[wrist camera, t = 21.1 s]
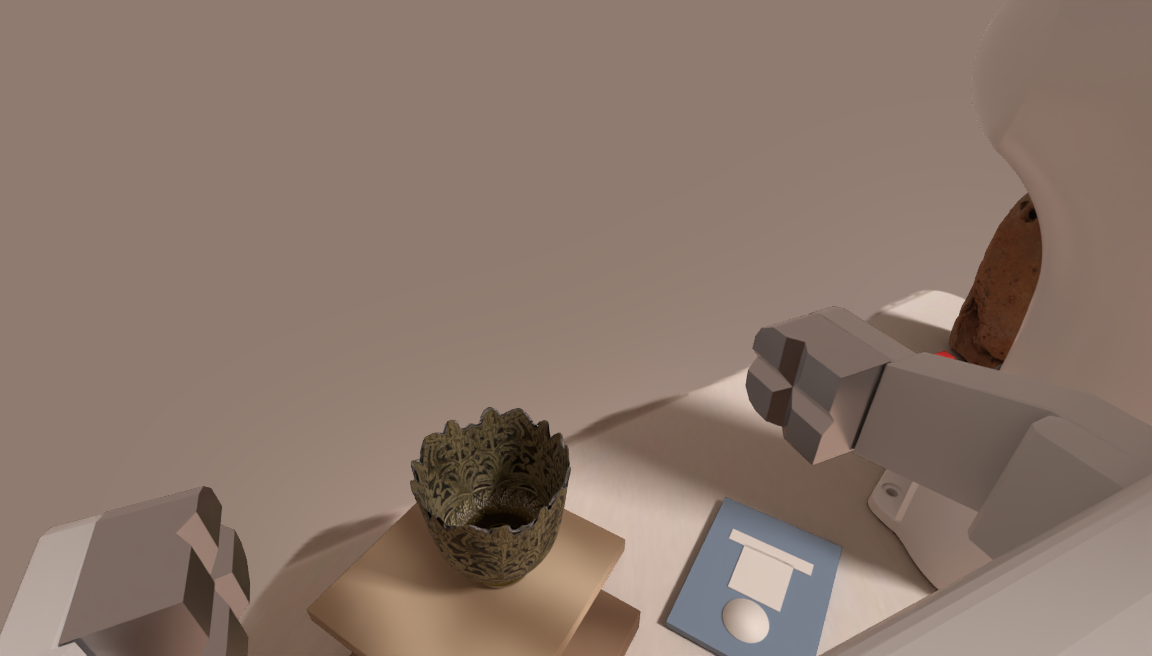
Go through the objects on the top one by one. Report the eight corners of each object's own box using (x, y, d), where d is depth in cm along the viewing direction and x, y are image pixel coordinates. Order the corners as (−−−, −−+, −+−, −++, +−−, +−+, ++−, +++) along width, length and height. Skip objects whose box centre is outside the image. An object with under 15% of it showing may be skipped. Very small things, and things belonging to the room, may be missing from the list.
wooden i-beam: (476, 534, 44) (460, 442, 38) (638, 627, 38) (648, 534, 32) (326, 706, 34) (276, 616, 28) (514, 869, 28) (498, 794, 22)
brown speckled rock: (1073, 382, 59) (1187, 199, 48) (1033, 405, 56) (1145, 216, 45) (970, 331, 67) (1048, 163, 56) (930, 349, 64) (1004, 176, 53)
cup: (451, 656, 27) (428, 551, 22) (419, 534, 32) (395, 431, 28) (593, 595, 29) (597, 490, 25) (540, 492, 35) (537, 392, 31)
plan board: (724, 501, 46) (725, 496, 46) (840, 551, 43) (842, 546, 42) (665, 626, 38) (666, 620, 38) (803, 703, 34) (805, 697, 34)
